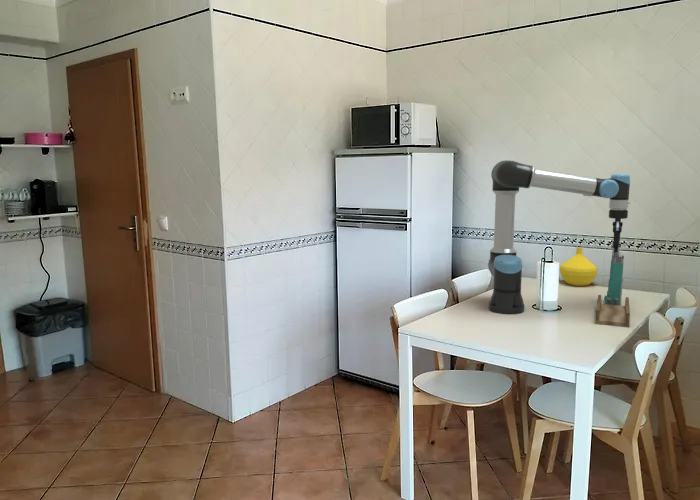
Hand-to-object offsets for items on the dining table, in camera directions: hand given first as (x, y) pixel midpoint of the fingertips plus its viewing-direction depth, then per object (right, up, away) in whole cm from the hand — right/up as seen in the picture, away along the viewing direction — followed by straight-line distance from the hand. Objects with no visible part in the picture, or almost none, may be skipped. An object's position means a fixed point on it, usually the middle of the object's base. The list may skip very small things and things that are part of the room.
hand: (615, 261), depth 245 cm
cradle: (-9, -22, -17) cm, 30 cm away
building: (-1, -19, +1) cm, 19 cm away
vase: (+1, -13, +44) cm, 45 cm away
